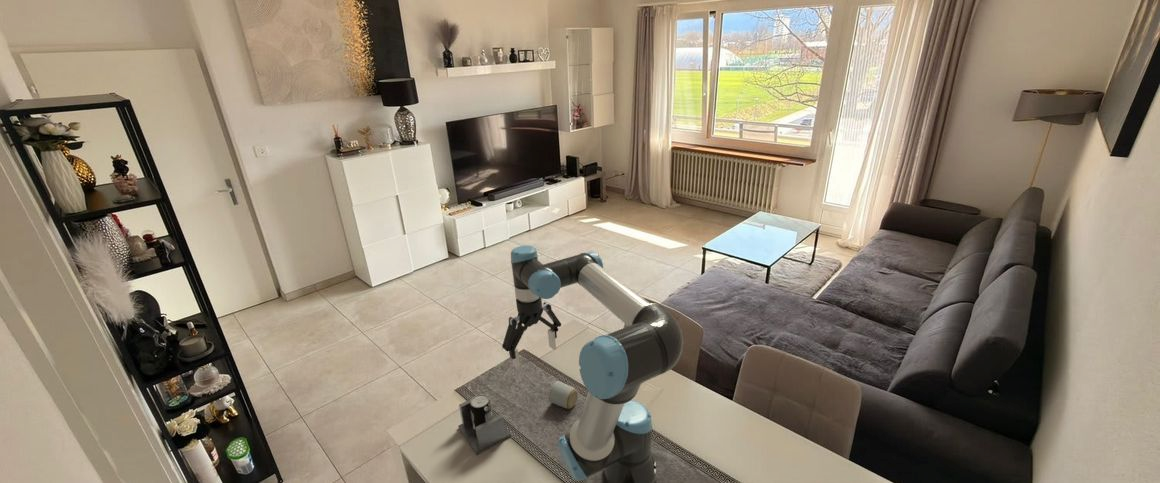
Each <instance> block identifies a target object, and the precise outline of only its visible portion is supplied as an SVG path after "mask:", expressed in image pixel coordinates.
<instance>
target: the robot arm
mask: <svg viewBox="0 0 1160 483" xmlns="http://www.w3.org/2000/svg"><path fill="white" fill-rule="evenodd" d="M538 257H539V255H538V253H537V249H536V248H535V247H534V246H533V245H519V246H516V247H515V248H513V249H512V250H511V252H510V264H511V270H512V278H513V285H514V286H513V287H514V294H515V304H516V311H517V316H516V317H512V316H510V317H509V318H508V325H507V329H506V333H505V336H504V339H503V341H502V342H503V343H502V345H501V346H502V347H501V348H502V349H504V350H505V352H508V353H509V355H508V356H509V358H510V359H512V365H514V367H516V368H517V369H520V367H521V364H520V356H519V349H518V348H517V346H518V345H519V342H520V341H521V339H522V337H523V335H524V333H525V332H526V331H527V330H528V327H529V328H530V327H532V326H533V325H536V324H538V322H539V321H540V322H541V323H543V324H545V326H548V328H547V336H548V337H547V339H548V346H549V348H551V349H552V350H553V351H555V350H557V344H556V339H557V338H558V333H557V332H558V331H559V328H560V327H562V323H561V321H560V320H559V319H558V317H557V316H556V314H555V312H554V311H553V309H552V305H551V304H550V303H548V302H547V301H544V302H543V301H542V300H550V299H551V298H554V297H555V296H556V295H557V294H559V292H560V289H562V288H564V287H569V286H571V285H575V284H578V285H579V286H580V287H582V288H583V289H584V290H586V292H588V293H589V294H590V295H591V296H592V297H593V298H595V299H596V300H597V301H598V302H599V303H601V305H603V306H604V307H605V308H606V309H607V310H608V311H610V312H611V313H612V314H613V315H614V316H615V317H617V318H618V319H619V320H620V321H621V322H622V323H624V325H626V327H623V328H621V329H618V330H615V331H613V332H610V333H608V334H602V335H599V336H597V337H595V338H594V339H592V340H590V341H588V342H586V343H585V344H584V345H583V346H582V348H581V350H580V352H579V357H578V365H579V367H580V369H579V374H580V378H581V381H582V382H583V385H584V386H585V389H586V390H587V391H588V392H587V394H586V399H585V402H584V405H583V408H582V411H581V415H580V417H579V418H578V419H577V420H576V421H574V423H573V424H572V426H571V427H570V431H569V432H568V433H566V434H563V435H562V436H560V437H559V438H558V440H557V447H558V450H559V453H560V456H561V459H562V461H563V463H564V466H565V468H566V470H567V472H568V473H569V475H570V476H571V478H572V479H573V480H575V481H577V482H580V481H582V480H585V479H588V478H589V477H591V476H593V475H594V474H595V475H596V473H598V472H600V471H602V470H604V477H605V479H606V482H607V483H655V482H656V480H657V476H658V475H657V474H658V473H657V472H658V468H657V462H656V460H655V458H654V455H653V452H652V431H653V430H652V429H653V423H652V422H653V421H652V415H651V412H650V411H649V409H648V408H647V406H645V405H644V404H643V403H641V402H638V401H637V400H633V399H634V398H635V397H636V396H637V394H638V391H639V389H640V388H641V385H642V384H644V383H645V382H647V381H649V380H651V379H654V378H656V377H658V376H661V375H663V374H665V373H667V372H669V371H670V370H672V369H673V367H675V366H676V364H678V362H679V361H680V358H681V355H682V354H683V353H682V352H683V347H684V338H683V333H682V329H681V326H680V324H679V323H678V321H677V319H676V318H675V316H674V315H673V314H672V313H670V311H669V310H667V309H666V308H665V307H663V306H662V305H660V304H659V303H650V302H649V301H648V300H647V299H645V298H644V297H643V296H642V295H639V294H638V293H637V292H636V291H634V290H633V289H632V288H630V286H627V285H626V284H625V283H623V282H622V281H621V280H620V279H618V278H617V277H615V275H613V274H611V273H610V272H609V271H608V270H606V269H605V268H604V263H603V259H602V258H601V257H600V255H599V254H598V253H597V252H596V251H592V250H591V251H587V252H580V253H578V254H576V255H573V256H569V257H566V258H562V259H558V260H555V261H551V262H547V263H542V262H541V261H540V260H538V259H539V258H538ZM543 312H545V313H546V314H547V315H548V317H549V318H550V320H551V322H552V323H551V322H549V321H548V320H547V319H546V318H545V317H543V316H542V315H543Z"/></svg>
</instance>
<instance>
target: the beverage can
mask: <svg viewBox="0 0 1160 483" xmlns="http://www.w3.org/2000/svg"><path fill="white" fill-rule="evenodd" d="M480 394H481V395H480ZM480 394H476V395H475V396H473V397H472V398H470V399H471V404H470V411H471V416H472V422H473V428H474V432H475V433H476V430H475V427H477V426H479V425H481V424H483V423H485V422H487V421H489V420H491V419H493V414H492V411H493V408H492V402H491V400H490V399H489V396H488V395H487V394H486V395H483V393H480Z"/></svg>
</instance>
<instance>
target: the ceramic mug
mask: <svg viewBox="0 0 1160 483" xmlns="http://www.w3.org/2000/svg"><path fill="white" fill-rule="evenodd" d="M578 396H579V391H578V389H576V388H575V387H573V386H571V385H570V384H566V383H564V382H562V381H561V380H556V381H554V383H553V384H552V385H551V386H550V389H549V392H548V401H549V402H550V403H551V404H554V405H557V406H559V407H562V408H565V409H568V410H570V409H572V408H573V407H574V406H575V404H576V403H577V400H578Z"/></svg>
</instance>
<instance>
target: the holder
mask: <svg viewBox="0 0 1160 483" xmlns="http://www.w3.org/2000/svg"><path fill="white" fill-rule="evenodd" d="M481 394H483V395H486V396H487V394H486V393H485V392H483V393H480V394H479V395H481ZM471 399H472V398H470V399H468V400H466V401H464V402H461V403H460V404H458V407H459V413H460V418H461V424H459V425H458V426H457V428H458V430H459V431H460V432H461V434H462V435H463V437H464V438H465V440H466V442H467V443H468V444H469V446H470V447H471V448H472V450H473V452H474V453H475V455H476V456H477V455H479V454H481V453H483V452H485V451H486V450H489V449H490V448H491V447H493V446H495V445H497V444H499V443H501V442H503V441H505V440H507V439H508V438H510V437H512V433H511V432H510V431H509V430H508V429H507V427H506V425H505V424H506V423H505V417H504V415H503V414H502V413H500V414H498V415H497V414H496V413H494V411H493V410H492V414H493V419H491V420H489V421H487V422H485V423H483V424H481V425H479V426H477V427H475V430H476V433H475V432H474V428H473V422H472V416H471V411H470V404H471Z"/></svg>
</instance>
